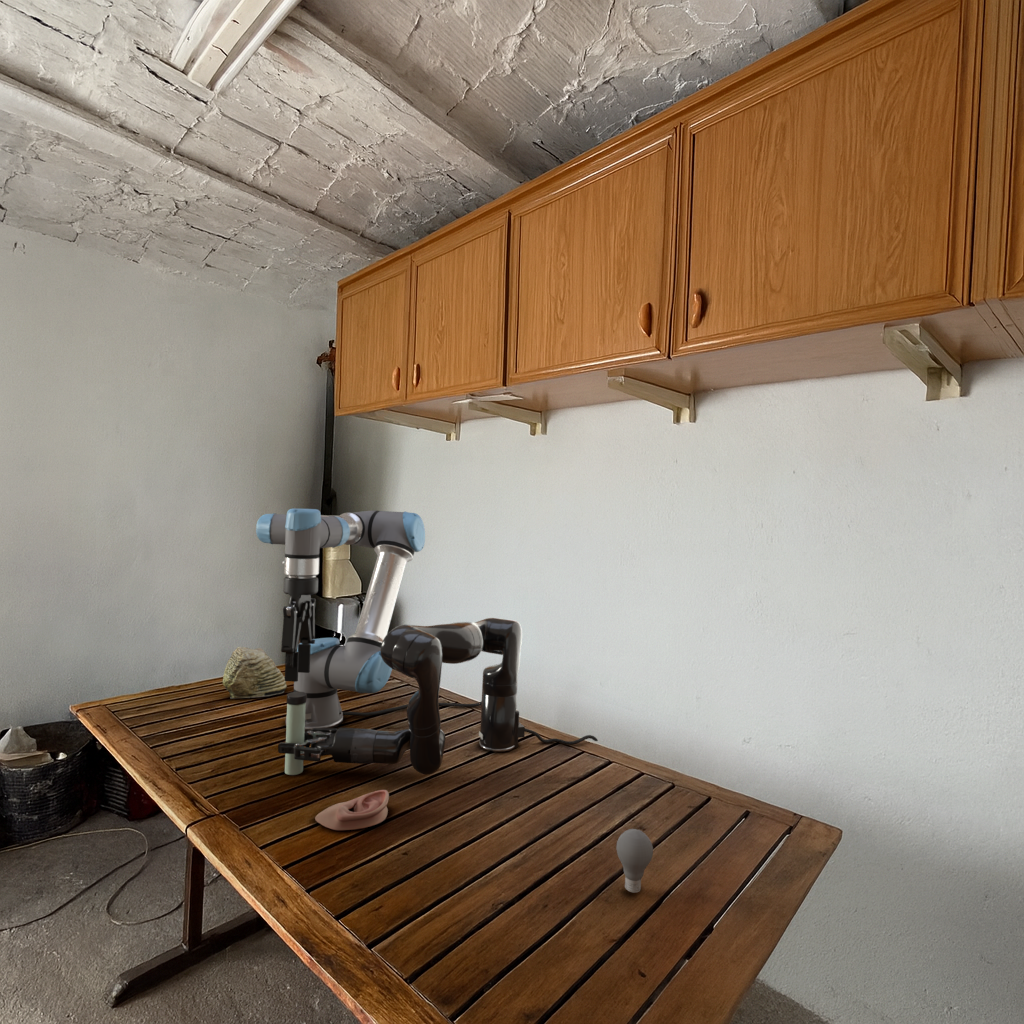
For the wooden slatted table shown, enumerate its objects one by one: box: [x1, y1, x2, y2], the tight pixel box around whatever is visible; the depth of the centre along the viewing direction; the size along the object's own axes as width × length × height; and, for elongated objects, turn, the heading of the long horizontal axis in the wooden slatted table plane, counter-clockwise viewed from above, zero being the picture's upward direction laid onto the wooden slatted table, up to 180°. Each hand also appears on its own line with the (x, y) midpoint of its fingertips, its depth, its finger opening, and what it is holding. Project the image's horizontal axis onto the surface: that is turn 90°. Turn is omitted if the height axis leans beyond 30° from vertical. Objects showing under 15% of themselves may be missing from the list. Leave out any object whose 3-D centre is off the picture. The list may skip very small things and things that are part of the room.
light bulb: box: [615, 828, 654, 894], centre depth 106 cm, size 6×6×10 cm
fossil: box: [222, 646, 288, 699], centre depth 198 cm, size 9×18×15 cm, turn 132°
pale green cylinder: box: [284, 702, 306, 776], centre depth 145 cm, size 4×4×17 cm
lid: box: [286, 691, 307, 705], centre depth 145 cm, size 4×4×2 cm
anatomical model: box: [314, 789, 390, 831], centre depth 126 cm, size 13×4×12 cm
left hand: (297, 676), depth 145 cm, fingers open, 6 cm apart
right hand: (284, 741), depth 145 cm, fingers open, 6 cm apart
